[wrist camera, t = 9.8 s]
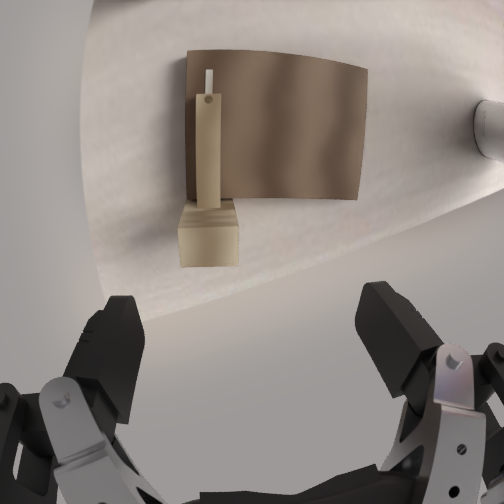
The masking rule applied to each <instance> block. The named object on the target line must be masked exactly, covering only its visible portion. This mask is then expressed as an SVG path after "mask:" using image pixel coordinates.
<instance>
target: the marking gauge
mask: <svg viewBox="0 0 504 504" xmlns="http://www.w3.org/2000/svg"><path fill="white" fill-rule="evenodd" d="M220 139H221V94H196V185H197V199H188V200H186V203H185V206H184V209H183V212H182V215H181V218H180V221H179V224H178V227H177V232H178V243H179V254H180V264H181V268H182V267H214V266H238V245H239V226H238V221H237V217H236V213H235V208H234V204H233V199H232V198H220Z"/></svg>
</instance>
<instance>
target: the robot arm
mask: <svg viewBox="0 0 504 504" xmlns="http://www.w3.org/2000/svg"><path fill="white" fill-rule="evenodd" d="M474 132H475V138H476V142H477V145H478V148H479V150H480V151H481V153H482V154H483V155H484V156H485V157H488V158H491V159H494V160H497V161H499V162H502V163H504V103H501V102H494V101H487V100H485V101H482V102H480V104H479V105H478V107H477V109H476V112H475V117H474ZM355 327H356V331H357V333H358V335H359V336H360V338H361V340H362V342H363V344H364V345H365V347H366V349H367V351H368V353H369V354H370V356H371V358H372V360H373V361H374V364H375V365H376V367H377V369H378V371H379V373H380V375H381V377H382V379H383V380H384V382H385V384H386V386H387V388H388V390H389V392H390V394H391V396H392V398H396V397H399V396H402V395H405V396H406V398H407V399H406V401H405V403H404V405H403V410H402V414H401V418H400V422H399V426H398V430H397V434H396V438H395V441H394V444H393V447H392V449H391V451H390V453H389V455H388V456H387V458H386V459H385V461H384V463H383V465H382V467H381V469H380V471H378V470H377V467H376V464H373V465H370V466H367V467H364V468H361V469H358V470H354V471H351V472H348V473H345V474H341V475H337V476H335V477H333V478H331V479H329V480H327V481H325V482H323V483H321V484H319V485H317V486H315V487H313V488H310V489H308V490H306V491H304V492H301V493H299V494H295V495H282V494H269V493H258V492H250V491H236V492H200V499H198V500H193V501H189V502H186V503H183V504H477V499H478V494H479V489H480V483H481V477H483V480H484V482H485V484H486V488H487V490H488V491H486V492H485V493H483V495H482V496H481V499H480V501H481V504H504V427H503V428H502V427H500V425H499V423H498V422H497V420H496V418H495V416H494V414H493V412H492V410H491V409H490V407H489V405H488V403H487V402H486V401H487V400H488V399H489V398H490V397H491V395H492V394H493V393H494V392H496V393H497V395H498V397H499V398H500V400H501V402H502V403H503V405H504V345H503V344H500V343H491V344H490V345H489V346H488V348H487V349H486V351H485V352H484V354H483V355H469V353H468V352H467V351H466V350H465V349H464V348H462V347H461V346H459V345H456V344H452V343H450V344H449V343H448V344H444V343H443V342H442V340H441V339H440V338H439V337H438V335H437V334H436V333H435V331H434V330H433V329H432V328H431V327H430V325H429V324H428V323H427V322H426V320H425V319H424V318H422V316H421V314H420V313H419V312H418V311H416V309H415V307H414V306H413V305H412V304H411V303H410V301H409V300H408V299H406V298H405V297H403V296H401V295H400V294H398V293H396V292H395V291H394V290H393V288H392V287H391V286H390V285H389V284H388V283H387V282H386V281H379V282H371V283H366V284H365V285H364V286H363V290H362V293H361V297H360V301H359V305H358V308H357V312H356V316H355ZM144 345H145V336H144V330H143V326H142V323H141V320H140V316H139V313H138V309H137V306H136V302H135V299H134V297H133V296H111V297H110V298H109V300H108V302H107V304H106V306H105V308H104V310H98V311H97V312H96V313H95V314H94V315H93V316H92V317H91V318H90V319H89V320H88V322H87V324H86V326H85V328H84V330H83V333H82V334H81V336H80V338H79V342H78V343H77V345H76V347H75V349H74V351H73V354H72V356H71V358H70V360H69V362H68V365H67V367H66V369H65V372H64V374H63V377H57V378H54V379H52V380H50V381H49V382H48V383H46V384H45V386H44V387H43V388H42V390H41V392H40V393H33V394H22V395H21V394H20V393H19V392H18V391H17V390H16V388H15V387H14V386H13V385H12V384H9V383H1V384H0V504H56V501H57V490H58V486H59V488H60V490H61V493H62V495H63V497H64V499H65V501H66V503H67V504H167V503H166V502H165V501H164V499H163V498H162V497H161V496H160V495H159V494H158V493H157V491H156V490H155V489H154V488H153V487H152V486H151V485H150V484H149V483H148V481H147V480H146V479H145V478H144V476H143V475H142V474H141V472H140V471H139V469H138V468H137V467H136V465H135V464H134V462H133V461H132V459H131V458H130V456H129V455H128V453H127V451H126V450H125V448H124V447H123V445H122V443H121V442H120V440H119V438H118V437H117V435H116V434H115V428H116V423H121V424H128V422H129V416H130V411H131V405H132V400H133V395H134V390H135V385H136V380H137V376H138V371H139V367H140V362H141V358H142V353H143V349H144ZM18 443H21V444H22V445H23V450H22V454H21V460H20V464H19V470H18V475H17V479H16V480H15V478H14V475H13V466H14V461H15V456H16V452H17V447H18Z"/></svg>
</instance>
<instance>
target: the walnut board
mask: <svg viewBox="0 0 504 504" xmlns="http://www.w3.org/2000/svg"><path fill="white" fill-rule="evenodd" d="M367 79H368V69H365V68H361V67H357V66H353V65H349V64H345V63H340V62H336V61H331V60H326V59H320V58H314V57H308V56H302V55H294V54H286V53H277V52H266V51H251V50H192V51H187V71H186V109H185V144H186V185H187V200H188V199H197V185H196V94H221V139H220V198H309V199H340V200H357V198H358V190H359V183H360V175H361V167H362V157H363V147H364V136H365V123H366V107H367Z"/></svg>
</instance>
